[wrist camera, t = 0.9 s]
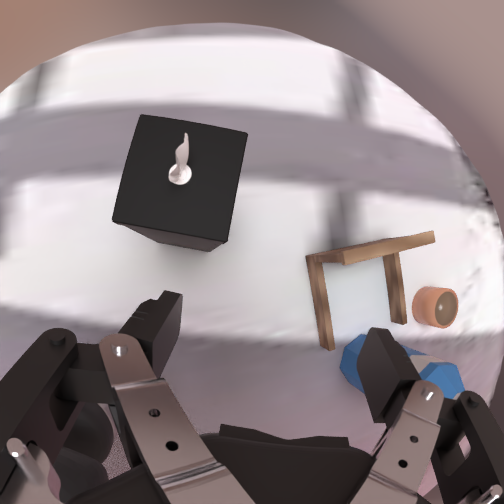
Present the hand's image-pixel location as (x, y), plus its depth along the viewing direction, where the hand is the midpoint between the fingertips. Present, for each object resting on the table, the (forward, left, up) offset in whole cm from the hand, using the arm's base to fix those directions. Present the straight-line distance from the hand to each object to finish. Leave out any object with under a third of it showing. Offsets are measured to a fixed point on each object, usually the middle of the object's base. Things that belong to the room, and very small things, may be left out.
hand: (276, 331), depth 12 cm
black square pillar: (+5, +8, -33) cm, 34 cm away
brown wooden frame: (+9, -20, -33) cm, 39 cm away
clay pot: (+13, -36, -33) cm, 50 cm away
